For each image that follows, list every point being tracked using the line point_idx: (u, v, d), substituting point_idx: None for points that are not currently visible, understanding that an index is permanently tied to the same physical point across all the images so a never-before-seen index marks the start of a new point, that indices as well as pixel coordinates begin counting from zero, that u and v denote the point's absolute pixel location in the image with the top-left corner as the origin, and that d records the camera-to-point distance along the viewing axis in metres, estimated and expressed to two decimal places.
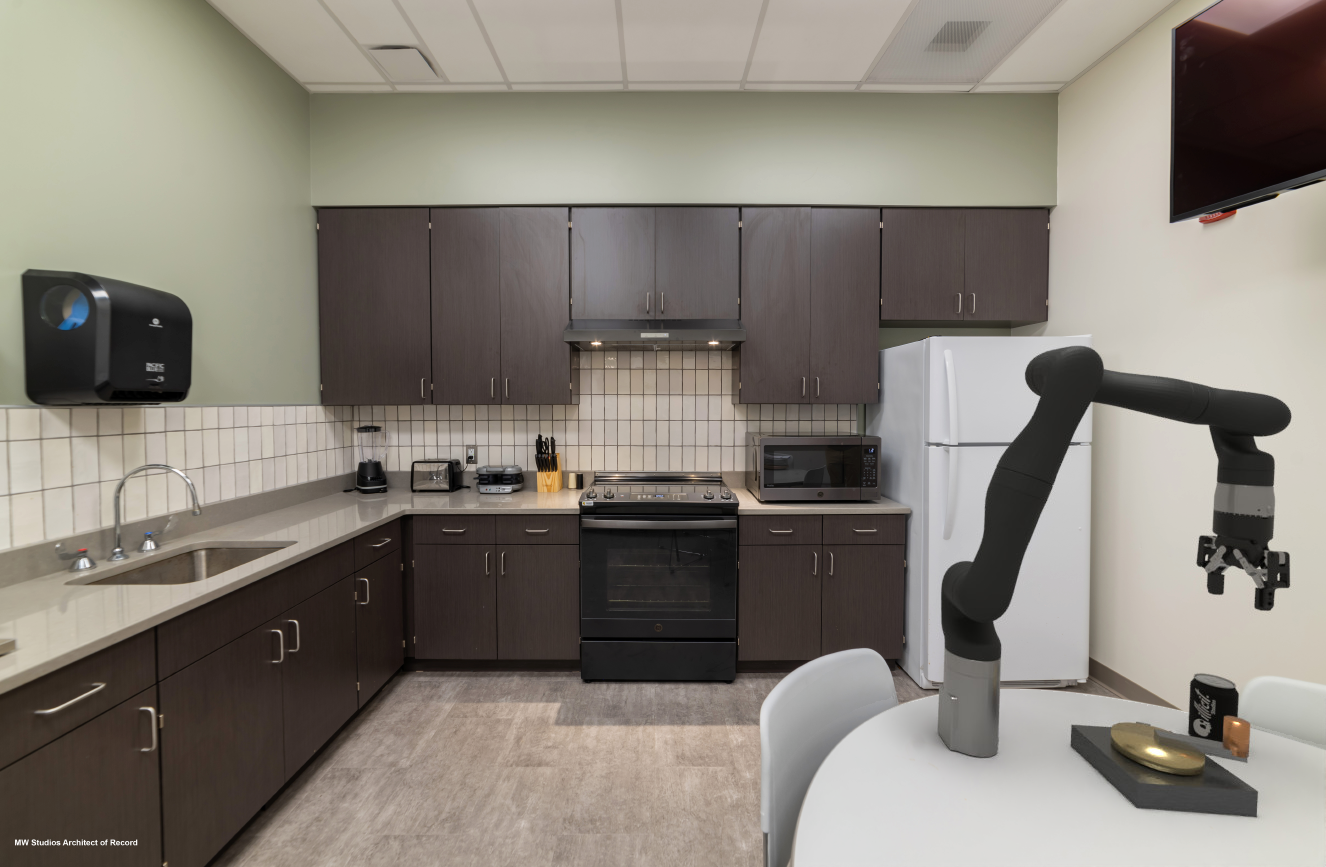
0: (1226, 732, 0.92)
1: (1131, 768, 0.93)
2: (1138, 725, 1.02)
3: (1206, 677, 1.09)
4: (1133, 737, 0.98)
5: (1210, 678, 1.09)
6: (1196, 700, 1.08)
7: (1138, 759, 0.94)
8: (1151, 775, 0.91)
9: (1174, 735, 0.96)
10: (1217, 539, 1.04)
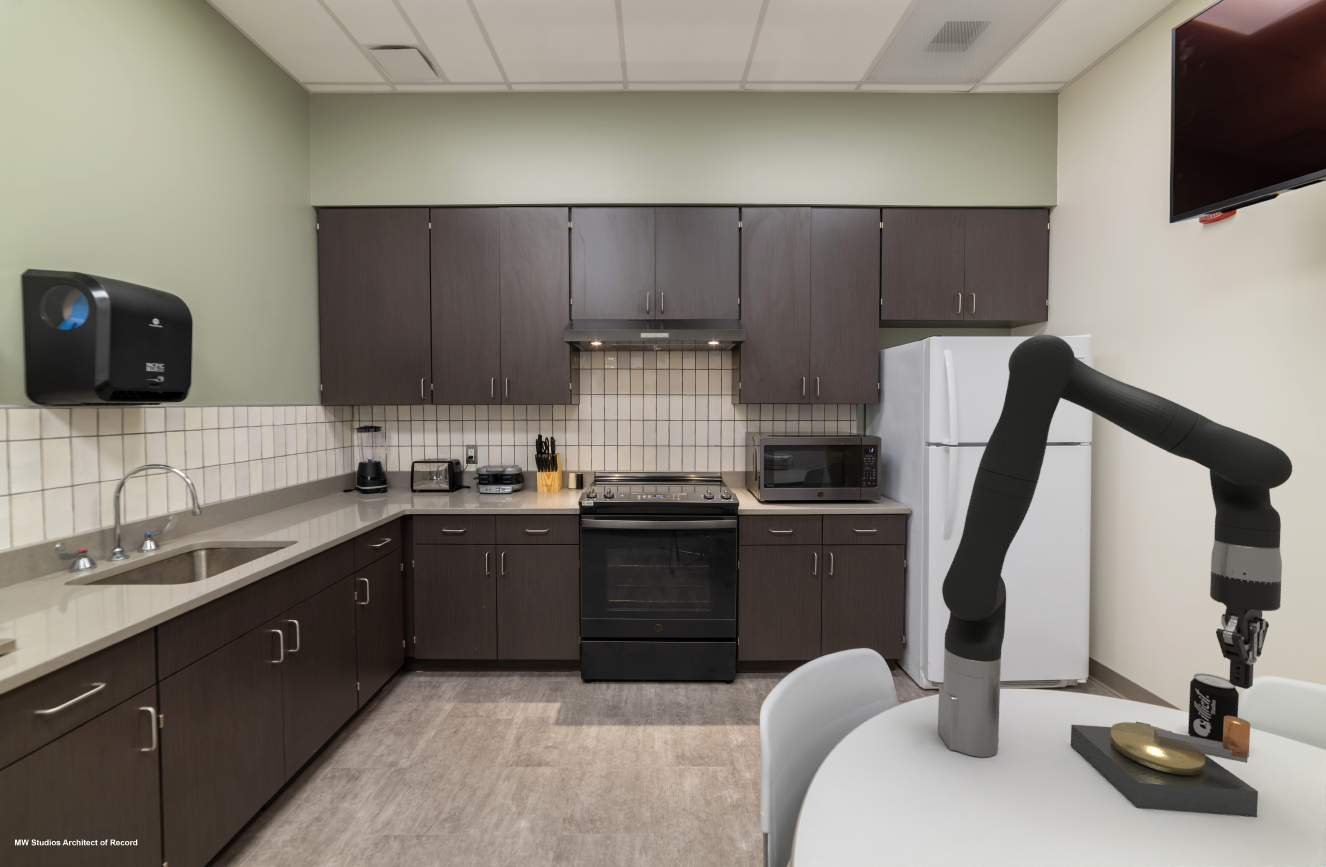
0: (1226, 732, 0.92)
1: (1131, 768, 0.93)
2: (1138, 725, 1.02)
3: (1206, 677, 1.09)
4: (1133, 737, 0.98)
5: (1210, 678, 1.09)
6: (1197, 700, 1.08)
7: (1138, 759, 0.94)
8: (1151, 775, 0.91)
9: (1174, 735, 0.96)
10: (1244, 619, 0.85)
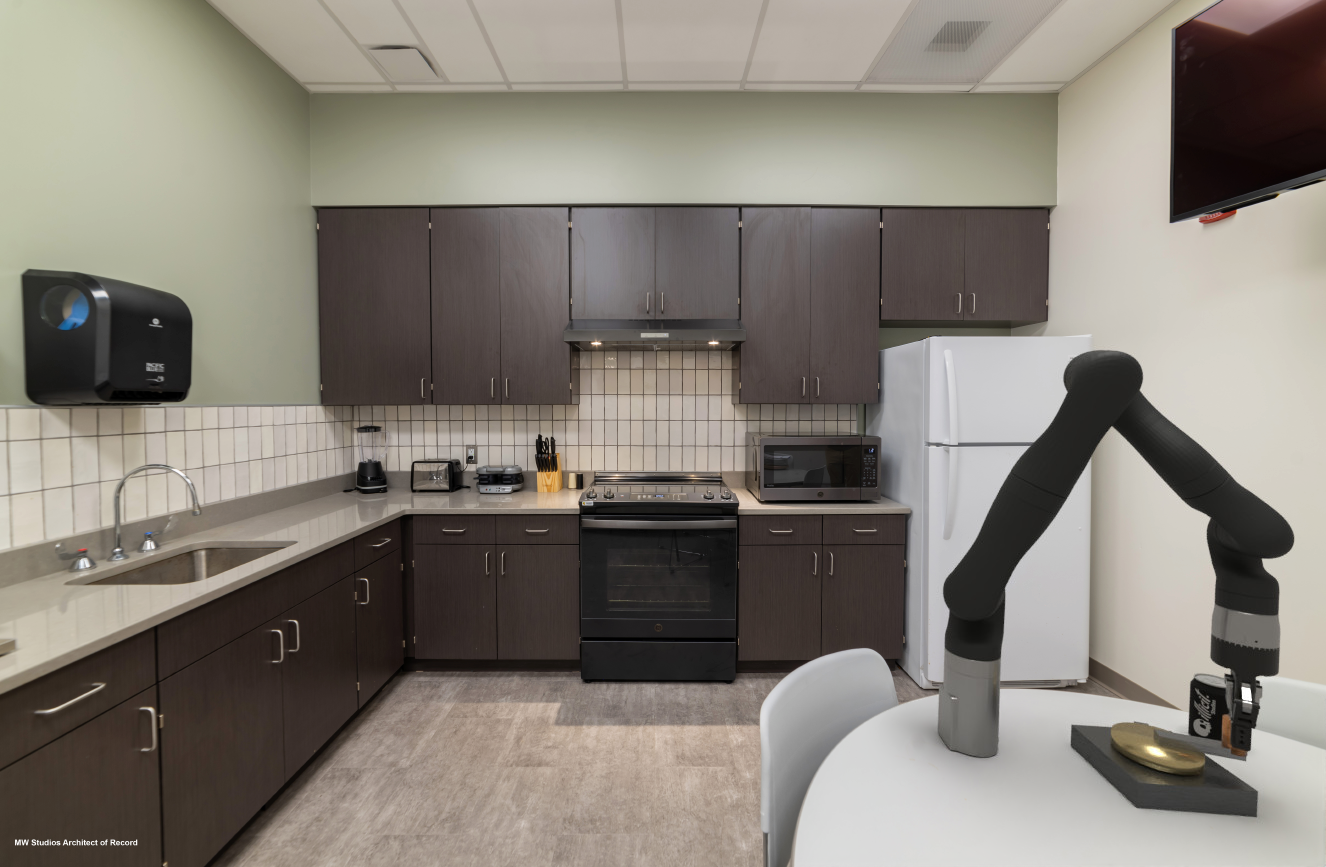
0: (1226, 731, 0.93)
1: (1131, 768, 0.93)
2: (1137, 725, 1.02)
3: (1206, 677, 1.09)
4: (1134, 737, 0.98)
5: (1210, 678, 1.09)
6: (1197, 700, 1.08)
7: (1140, 760, 0.94)
8: (1151, 775, 0.91)
9: (1174, 735, 0.96)
10: (1256, 687, 0.86)
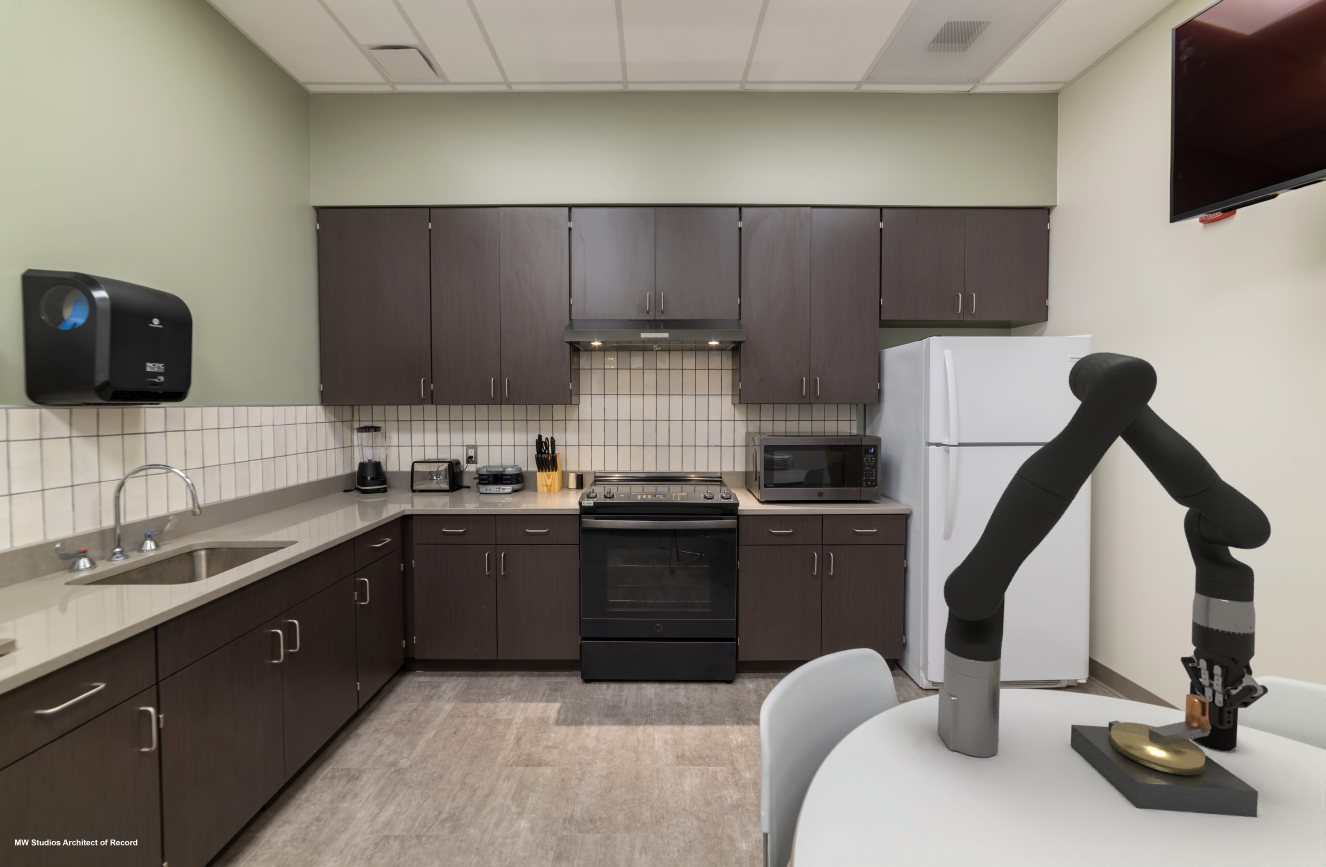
0: (1196, 712, 0.99)
1: (1131, 768, 0.93)
2: (1120, 726, 1.01)
3: None
4: (1144, 744, 0.96)
5: None
6: None
7: (1174, 770, 0.91)
8: (1151, 775, 0.91)
9: (1165, 729, 0.98)
10: None
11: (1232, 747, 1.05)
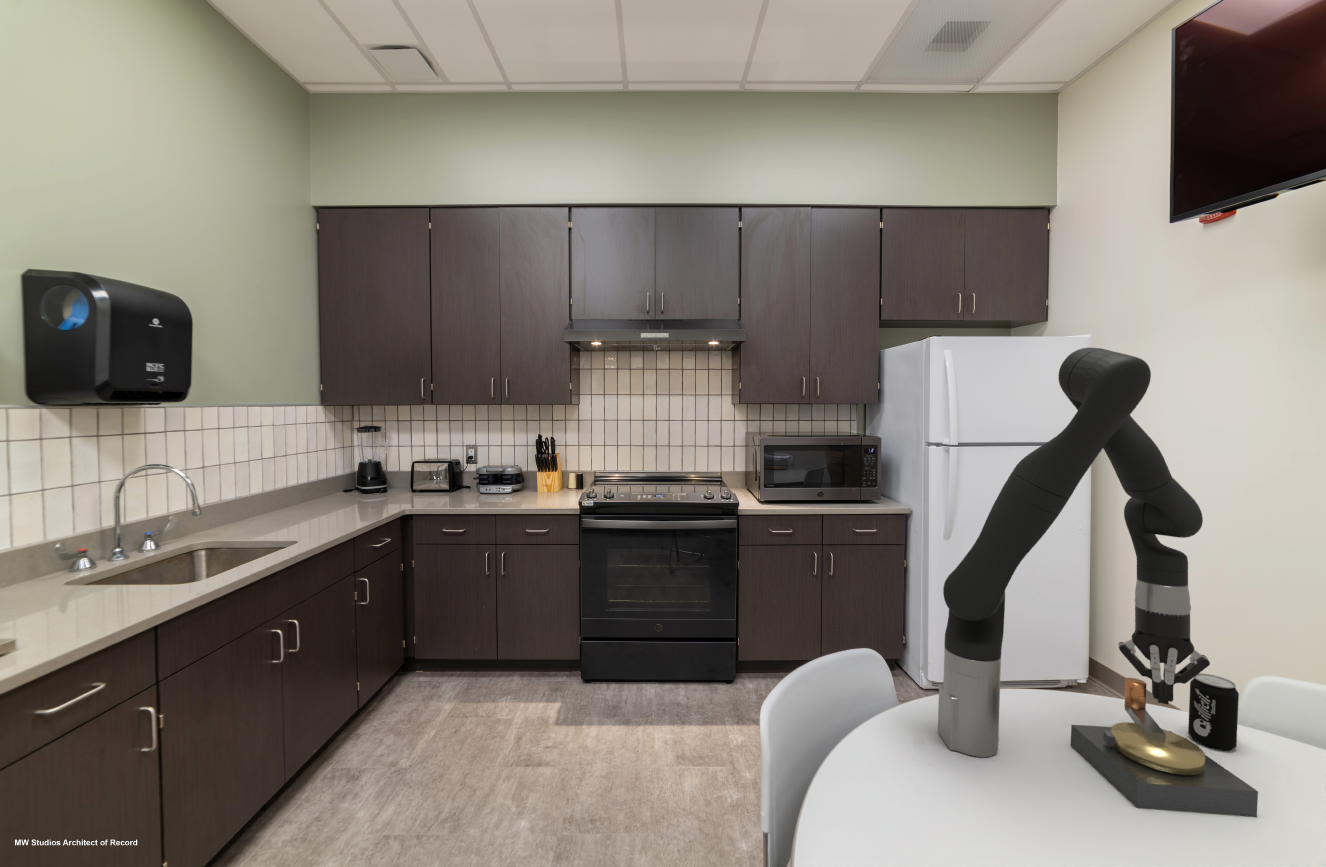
0: (1142, 695, 1.04)
1: (1131, 768, 0.93)
2: (1122, 737, 0.98)
3: (1206, 677, 1.09)
4: (1165, 751, 0.94)
5: (1210, 678, 1.09)
6: (1196, 700, 1.08)
7: (1202, 769, 0.92)
8: (1151, 775, 0.91)
9: (1150, 725, 0.99)
10: None
11: (1232, 747, 1.05)
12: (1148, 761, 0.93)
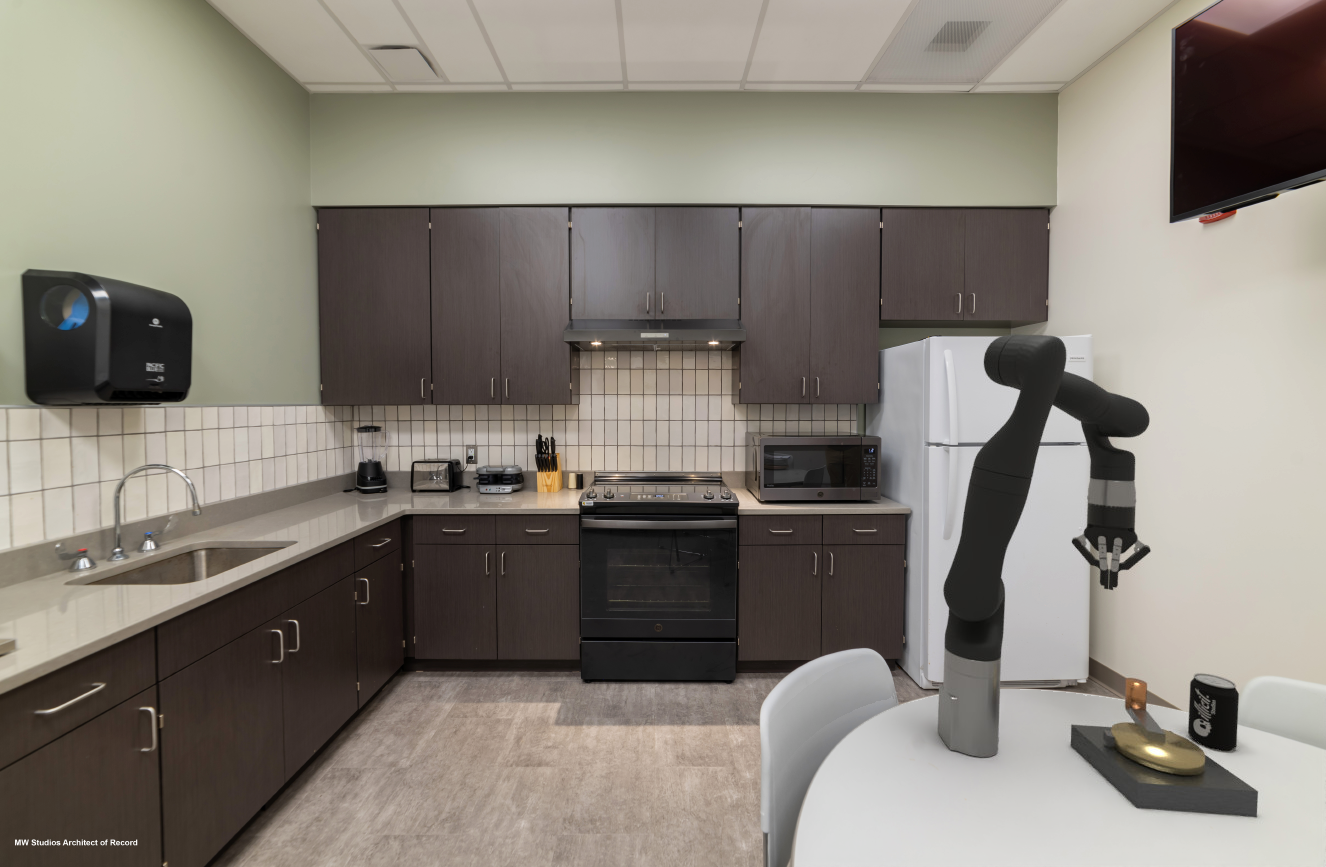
0: (1142, 696, 1.04)
1: (1131, 768, 0.93)
2: (1121, 737, 0.98)
3: (1206, 677, 1.09)
4: (1165, 751, 0.94)
5: (1210, 678, 1.09)
6: (1197, 700, 1.08)
7: (1202, 769, 0.92)
8: (1151, 775, 0.91)
9: (1150, 725, 0.99)
10: None
11: (1232, 747, 1.05)
12: (1148, 761, 0.93)
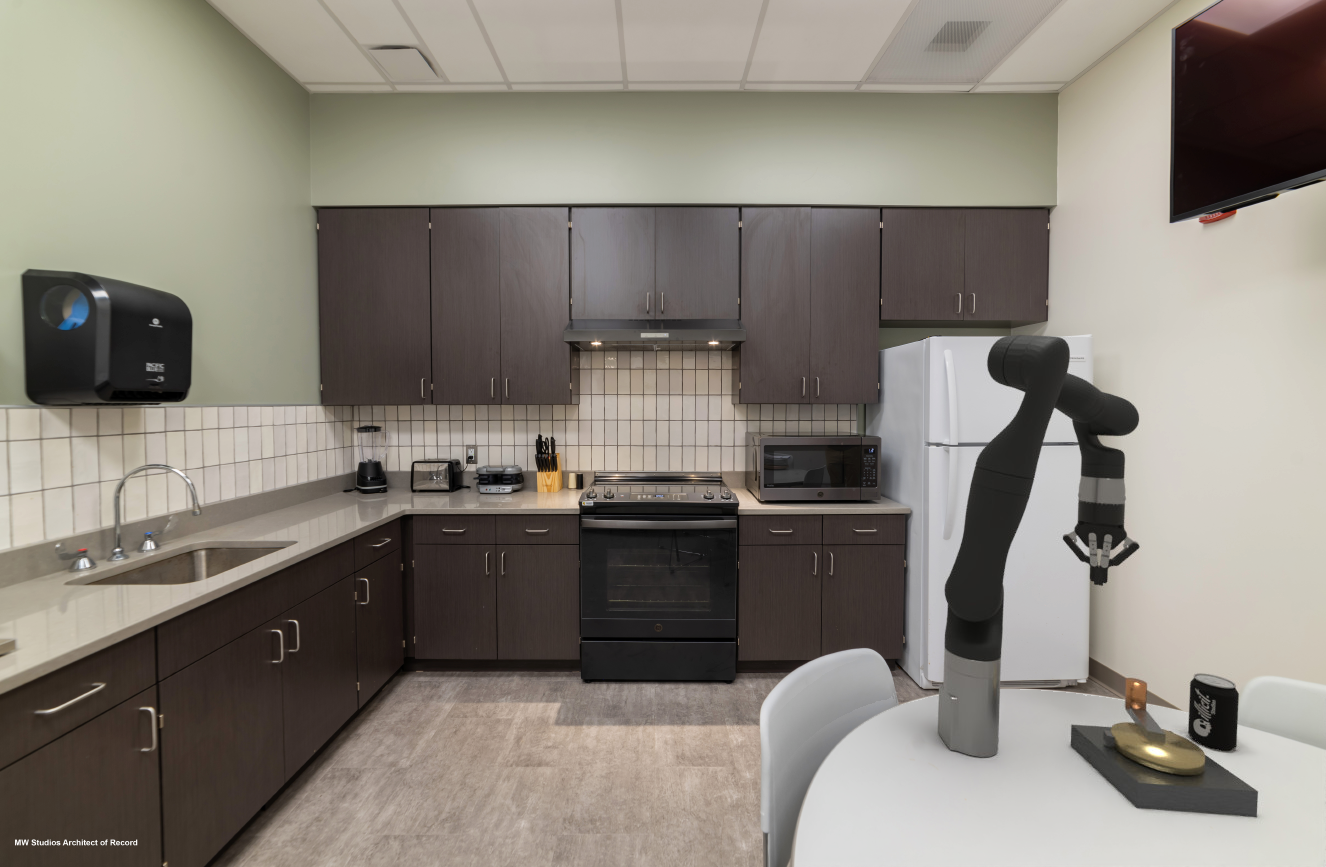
0: (1142, 696, 1.04)
1: (1131, 768, 0.93)
2: (1121, 737, 0.98)
3: (1206, 677, 1.09)
4: (1165, 751, 0.94)
5: (1210, 678, 1.09)
6: (1197, 700, 1.08)
7: (1202, 769, 0.92)
8: (1151, 775, 0.91)
9: (1150, 725, 0.99)
10: None
11: (1232, 747, 1.05)
12: (1148, 761, 0.93)
